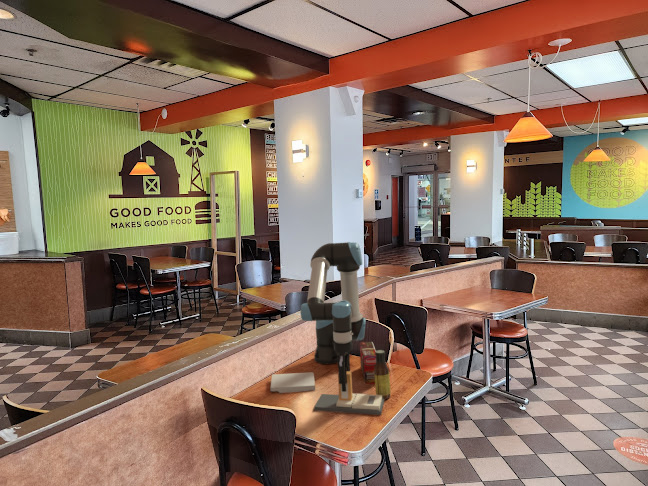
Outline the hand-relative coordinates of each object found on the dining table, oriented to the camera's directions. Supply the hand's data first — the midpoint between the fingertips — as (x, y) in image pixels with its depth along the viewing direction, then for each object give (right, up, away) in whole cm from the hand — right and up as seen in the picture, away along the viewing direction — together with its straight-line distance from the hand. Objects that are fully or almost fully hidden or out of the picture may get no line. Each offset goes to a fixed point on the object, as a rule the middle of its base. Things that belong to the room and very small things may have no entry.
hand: (345, 396), depth 177 cm
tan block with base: (0, -2, 0) cm, 2 cm away
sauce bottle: (+16, -3, +7) cm, 18 cm away
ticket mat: (+2, -4, 0) cm, 4 cm away
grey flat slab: (-23, -4, +24) cm, 34 cm away
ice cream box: (+13, -1, +30) cm, 33 cm away
